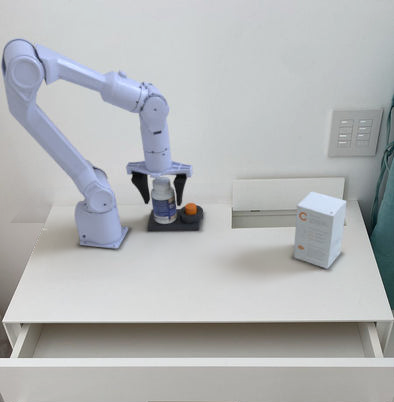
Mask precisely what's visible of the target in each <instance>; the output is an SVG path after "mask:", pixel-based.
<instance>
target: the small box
mask: <svg viewBox="0 0 394 402" xmlns="http://www.w3.org/2000/svg"><path fill="white" fill-rule="evenodd" d="M347 202H348V201H347V200H344V199H342V198H341V199H340V198H337V197H334V196H330V195H327V194H322V193H320V192H317V191H316V192H315V191H312V190H311V191H310V192H309V193H307V195H306V196H305V197H304V198H303V199H302V200H301V201H300V202H299V203H297V204H296V217H295V233H294V249H293V258H294V259H296V260H299V261H303V262H306V263H309V264H311V265H315V266H318V267H321V268H323V269H326V270H327V269H329V268H330V266H331V265H332V264H333V263H334V262H335V261H336V259H337V258H338V257H339V255H341V250H342V244H343V235H344V234H343V233H344V228H345V218H346V212H347Z"/></svg>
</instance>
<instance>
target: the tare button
mask: <svg viewBox="0 0 394 402" xmlns="http://www.w3.org/2000/svg"><path fill="white" fill-rule="evenodd" d="M196 205H197V204H196V203H194V202H189V203H186V204H185V205H184V206H185V211H186V214H187V215H194V214H196V213H197V208H196Z"/></svg>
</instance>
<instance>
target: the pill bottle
mask: <svg viewBox="0 0 394 402" xmlns="http://www.w3.org/2000/svg"><path fill="white" fill-rule="evenodd" d="M151 182H152V189H151V190H150V199H151V204H152V209H153V212H154V218H155V221H156V222H158V223H161V224H169V223H172V222H173V221H175V220H176V218H177V210H176V209H177V201H176V191H175V188H174V187H172V186H171V185H172V184H171V179H170V178H169V177H167V176H160V177H159V178H153V180H152V181H151Z"/></svg>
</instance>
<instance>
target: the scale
mask: <svg viewBox="0 0 394 402" xmlns="http://www.w3.org/2000/svg"><path fill="white" fill-rule="evenodd" d="M196 208H197V213H196V214H194V215H187V214H186V211H185V205H184V206H182V207H180V208H176V210H177V218H176V220H175V221H173V222H172V223H169V224H161V223H158V222H156V221H155V218H154V212H153V208H152V209H151V211H150V214H149V218H148V222H147V231H148V232H177V231H178V232H179V231H180V232H181V231H182V232H183V231H185V232H186V231H187V232H188V231H193V232H194V231H200V229H201V221H202V220H203V219H204V209H203V207H201V205H198V204H196Z"/></svg>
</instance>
